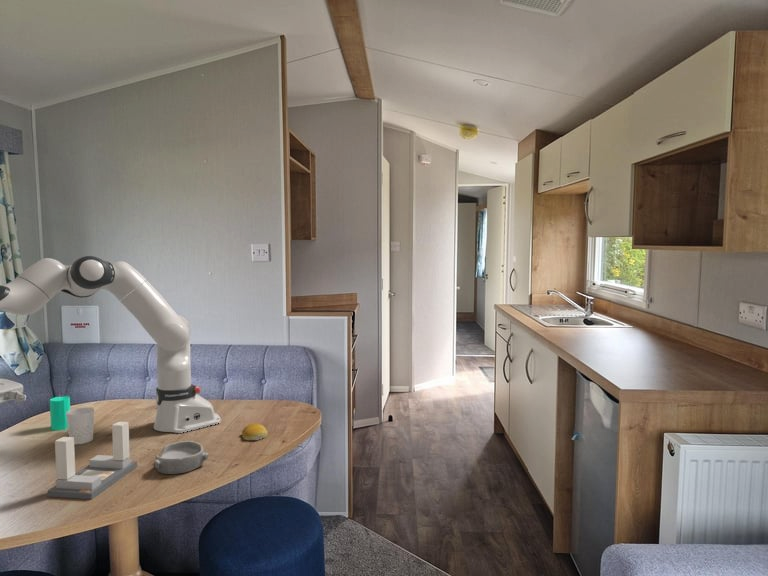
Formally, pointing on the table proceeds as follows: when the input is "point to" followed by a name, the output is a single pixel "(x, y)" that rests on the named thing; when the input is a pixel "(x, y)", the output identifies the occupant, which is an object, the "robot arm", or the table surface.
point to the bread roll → (254, 432)
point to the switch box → (93, 478)
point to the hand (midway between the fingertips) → (9, 403)
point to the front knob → (65, 457)
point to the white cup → (80, 424)
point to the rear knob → (120, 440)
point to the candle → (59, 412)
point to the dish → (180, 457)
